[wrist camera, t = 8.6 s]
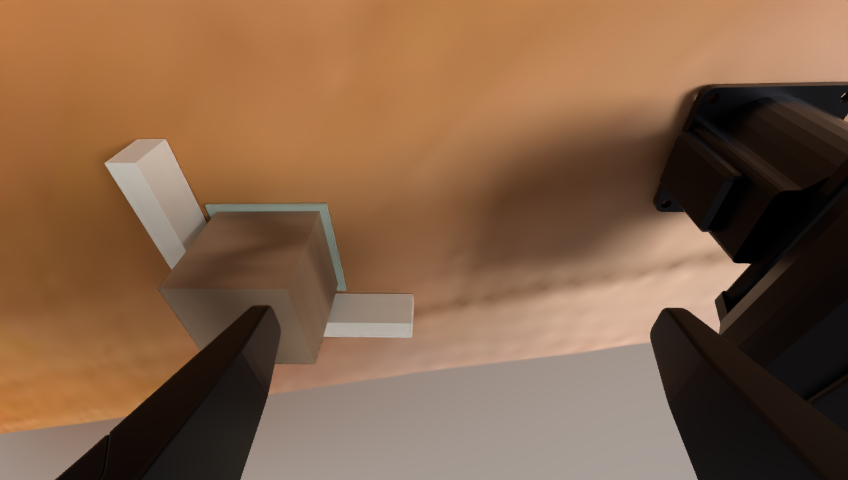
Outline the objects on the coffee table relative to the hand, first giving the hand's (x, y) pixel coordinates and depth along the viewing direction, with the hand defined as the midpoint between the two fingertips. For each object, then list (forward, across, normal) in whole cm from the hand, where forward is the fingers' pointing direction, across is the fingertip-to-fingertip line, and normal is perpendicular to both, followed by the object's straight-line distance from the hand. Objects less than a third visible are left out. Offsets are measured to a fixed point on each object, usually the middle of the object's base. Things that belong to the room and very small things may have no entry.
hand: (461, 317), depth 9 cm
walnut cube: (+12, +10, +8) cm, 18 cm away
